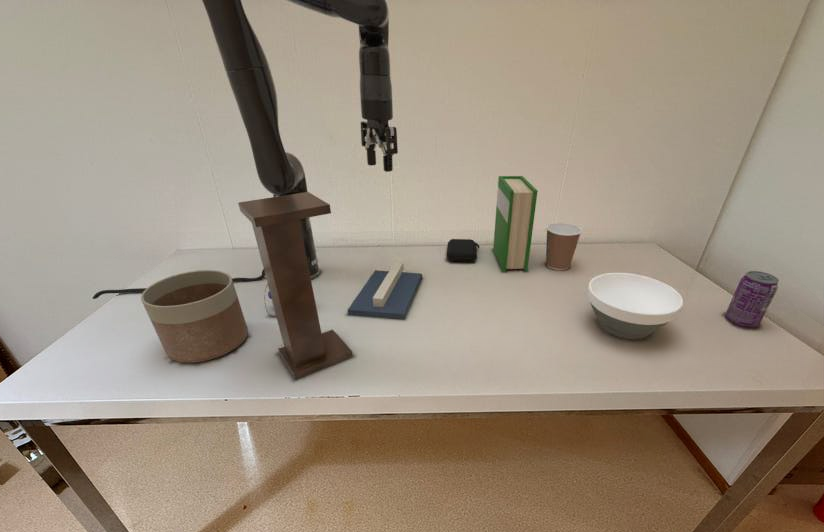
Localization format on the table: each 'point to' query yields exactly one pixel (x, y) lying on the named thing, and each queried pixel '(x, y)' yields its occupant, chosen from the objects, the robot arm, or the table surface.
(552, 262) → the coffee cup
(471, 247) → the carrying case
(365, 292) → the notebook
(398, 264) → the rod
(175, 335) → the planter
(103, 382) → the table surface
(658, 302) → the bowl
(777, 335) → the table surface
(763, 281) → the beverage can
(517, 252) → the hardback book
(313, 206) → the pedestal
